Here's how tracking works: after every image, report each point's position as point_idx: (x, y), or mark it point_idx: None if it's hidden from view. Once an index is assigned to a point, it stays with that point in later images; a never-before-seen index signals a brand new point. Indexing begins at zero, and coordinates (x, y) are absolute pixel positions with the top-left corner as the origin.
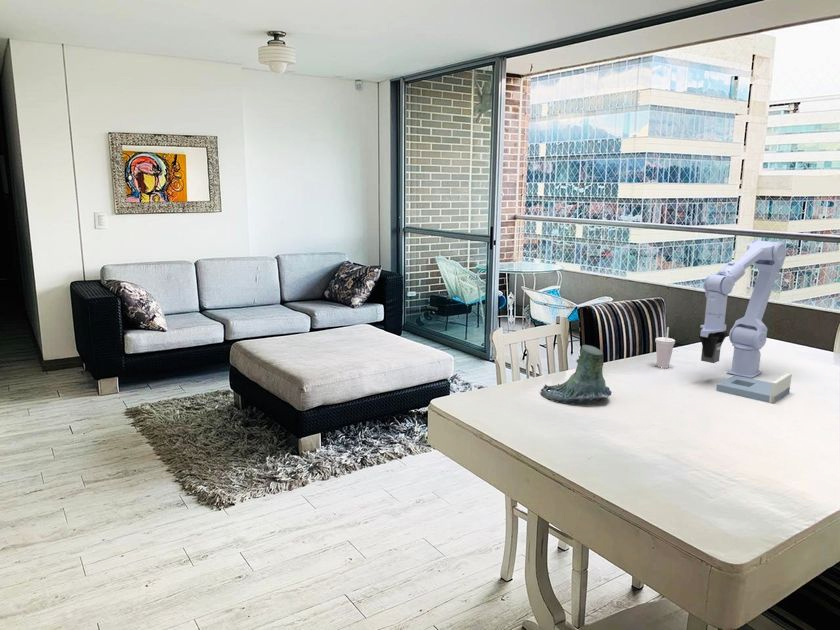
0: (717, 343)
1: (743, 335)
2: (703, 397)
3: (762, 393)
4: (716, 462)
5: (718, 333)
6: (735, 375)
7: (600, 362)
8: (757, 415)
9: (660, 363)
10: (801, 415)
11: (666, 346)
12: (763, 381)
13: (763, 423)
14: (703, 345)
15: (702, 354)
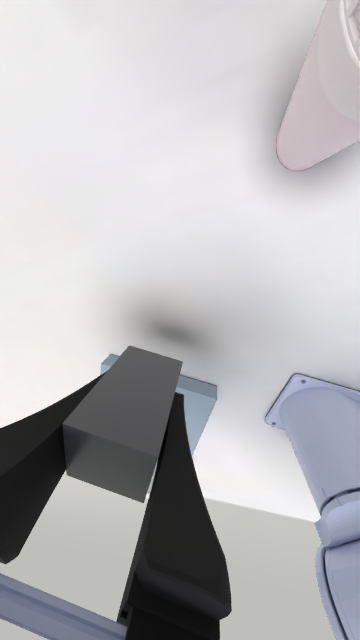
0: (99, 485)
1: None
2: (44, 334)
3: None
4: None
5: (122, 606)
6: (214, 400)
7: None
8: (31, 407)
9: (285, 114)
10: None
11: (334, 37)
12: (194, 443)
13: (8, 410)
14: (46, 412)
15: (113, 366)
